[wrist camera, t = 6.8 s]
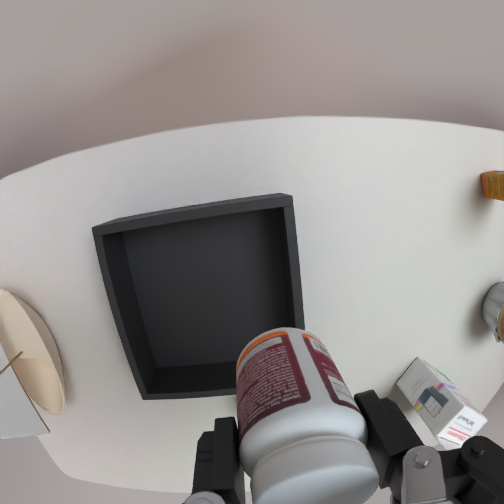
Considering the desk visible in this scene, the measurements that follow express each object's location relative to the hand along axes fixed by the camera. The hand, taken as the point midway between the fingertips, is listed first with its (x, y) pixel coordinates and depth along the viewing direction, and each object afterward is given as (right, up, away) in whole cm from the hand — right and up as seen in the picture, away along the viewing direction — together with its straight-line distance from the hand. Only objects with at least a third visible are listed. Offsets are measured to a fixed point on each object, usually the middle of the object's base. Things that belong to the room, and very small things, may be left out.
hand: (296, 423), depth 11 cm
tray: (-6, +3, +20) cm, 21 cm away
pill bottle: (0, +1, +4) cm, 5 cm away
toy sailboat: (-29, -4, +21) cm, 36 cm away
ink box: (+22, -11, +25) cm, 35 cm away
